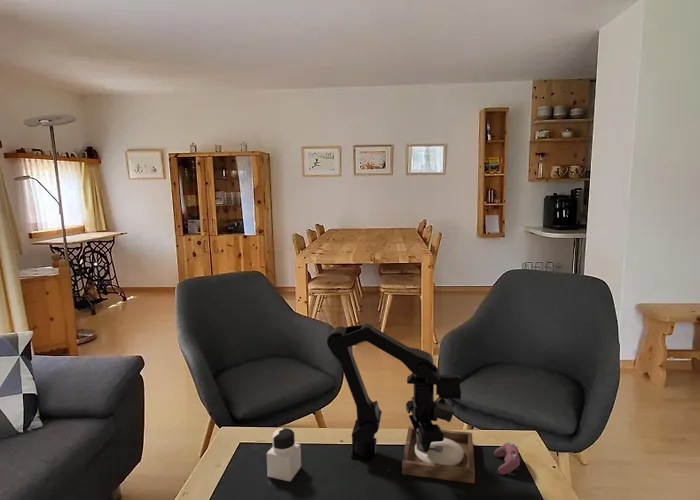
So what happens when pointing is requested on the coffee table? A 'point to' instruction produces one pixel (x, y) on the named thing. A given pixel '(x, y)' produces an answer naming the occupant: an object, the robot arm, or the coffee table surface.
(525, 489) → the coffee table surface
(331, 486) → the coffee table surface
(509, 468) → the video game controller
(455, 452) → the dial
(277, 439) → the medicine bottle
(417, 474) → the dial frame
